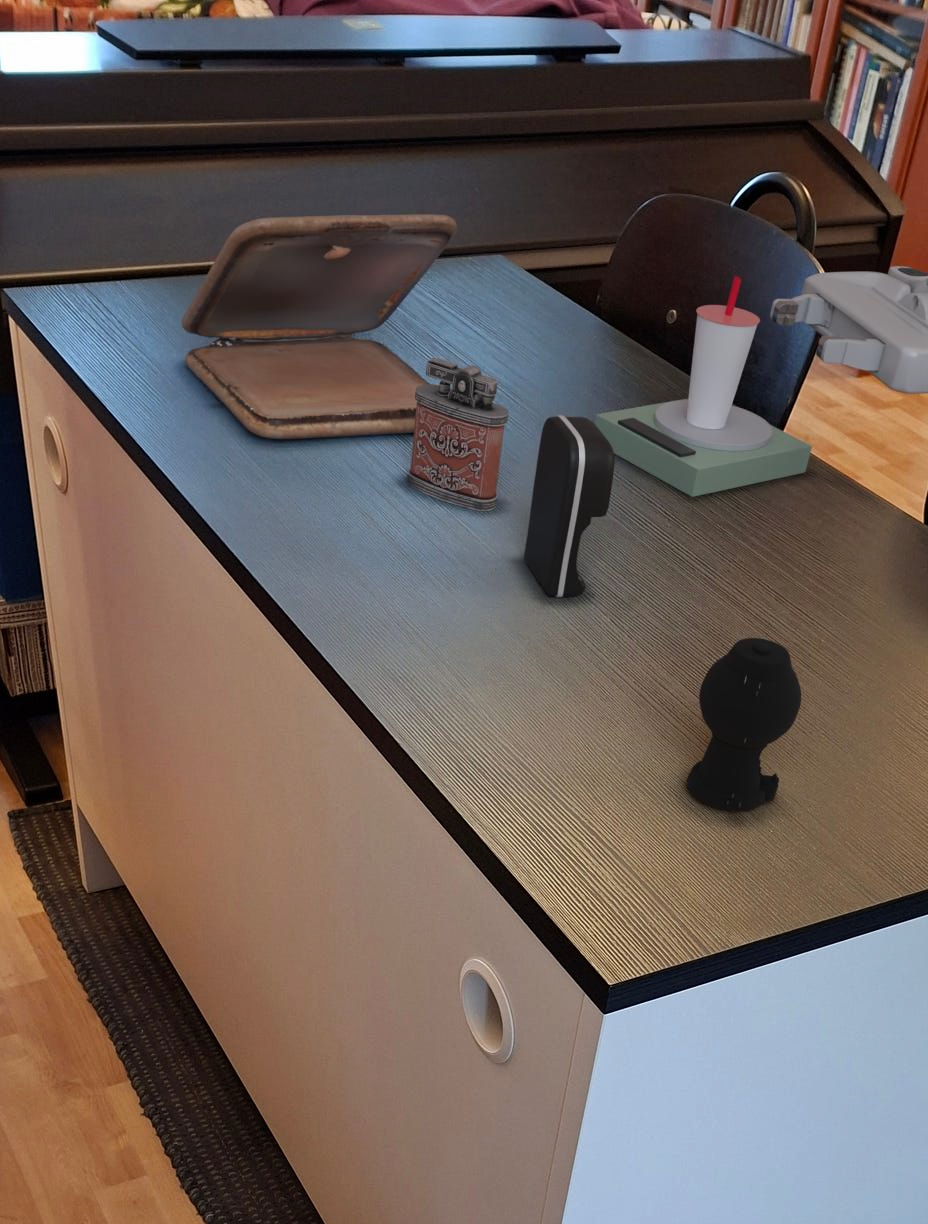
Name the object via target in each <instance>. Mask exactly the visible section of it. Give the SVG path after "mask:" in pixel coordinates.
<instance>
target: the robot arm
mask: <svg viewBox="0 0 928 1224" xmlns="http://www.w3.org/2000/svg"><path fill="white" fill-rule="evenodd" d="M769 313H770V314H769V319H771V320H772V322H774V323H776V324H777V325H778V326H788V327H789V326H791V327H794V326H795V323H801V322H802V323H804V324H806V325H808V326H809V327H811V329H813V330H814V331H815V332H817V333H818V334H819V335H821V337H819V340H818V343H817V344H818V345H817V346H818V347H817V348H816V350H815V351H816V353H815V354H816V356H817V357H818V358H819V359H820V360H821V361H822V362H823V363H824V364H831V365H833V364H834V365H843V366H846V367H850V368H853V369H857V370H860V371H861V370H862V371H865V372H868V373H869V374H870V375H872V376H873V377H874V378H876V380H878V381H879V382H880V383H881V384H883V385H884V386H886V387H887V388H888V389H890V390H891V391H894V392H896V393H901V394H908V395H920V394H928V272H925V271H923V270H922V271H921V270H919V269H916V268H912V267H910V266H901V265H894V266H893V265H892V266H890V267H889V269H888V271H887V273H883V272H879V271H866V270H865V271H863V270H862V271H860V270H859V271H856V270H855V271H829V272H817V273H814V274H812V275H810V276H808V277H807V278H805V280H804V282H803V285H802V289H801V292H800V295H798V296H795V297H793V298H776V299H774V300H773V302H772V305H771V308H770V312H769Z"/></svg>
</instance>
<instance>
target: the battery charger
mask: <svg viewBox="0 0 928 1224" xmlns="http://www.w3.org/2000/svg"><path fill="white" fill-rule="evenodd" d="M615 461H616V459H615V454H614V451H613V448H612V446H611V444H610V443H609V441H608V440H607V439H606V437H605V436H604V435H603V433H602V432H601V431H600V430H599V429H598V427H597V426H596V425H595V422H593V421H592V420H591V419H589V418H587V417H583V416H565V415H563V414H557V415H554V416H549V417H548V418H546V420H545V422H544V423H543V426H542V430H541V435H540V440H539V447H538V453H537V459H536V467H535V475H534V481H533V487H532V489H533V490H532V496H531V505H530V512H529V520H528V527H527V533H526V541H525V545H524V546H525V547H524V553H523V554H524V555H523V559H524V560H525V562H526V564H527V565H528V567H529V569H530V570H531V571H532V573H533V575H534V577H535V578H536V580H537V581H538V583H539V584H540V586H541V587H542V588H543V590H544V591H545V592H546V595H548V596H550V597H555V598H563V597H571V596H579V595H581V594H583V593H584V592H585V589H586V583H585V581H584V579H583V577H582V576H581V575H580V573H579V572H578V569H577V562H578V553H579V549H580V543H581V539H582V535H583V533H584V532H585V531H586V529H587V528H588V527H589V526H591V522H592V518H601V517H605V516H607V514H608V510H609V507H610V501H611V495H612V487H613V480H614V472H615V463H616V462H615Z"/></svg>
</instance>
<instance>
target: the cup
mask: <svg viewBox="0 0 928 1224" xmlns="http://www.w3.org/2000/svg"><path fill="white" fill-rule="evenodd" d="M741 283H742V279H741V278H740V277H738V276H737V275H736V274H735V275H734V277H733V281H732V285H731V287H730V292H729V296H728V299H727V304H726V305H724V304H723V305H722V304H706V305H705V304H704V305H701V306H699V307H697V308H696V310H695V311H696V313H697V314H696V325H695V333H694V342H693V351H692V361H691V371H690V380H689V389H688V398H687V399H688V408H687V418H686V420H687V421H688V422H689V423H690V424H692V425H694V426H696V427H699V428H704V429H721V428H723V427H724V426H725V423H726V421H727V418H728V414H729V411H730V408H731V406H733V401H734V399H735V396H736V393H737V391H738V386H739V384H740V380H741V377H742V374H743V371H744V368H745V364H746V362H747V358H748V356H749V352H750V349H751V346H752V343H753V339H754V337H755V334H756V330H757V327H758V325H759V323H760V322H761V318H760V317H759V316H758V315H756V314H755V313H753V312H751V311H749V310H746V309H743V308H739V307H736V306H735V305H736V302H737V299H738V296H739V295H738V294H739V291H740V288H741Z"/></svg>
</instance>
